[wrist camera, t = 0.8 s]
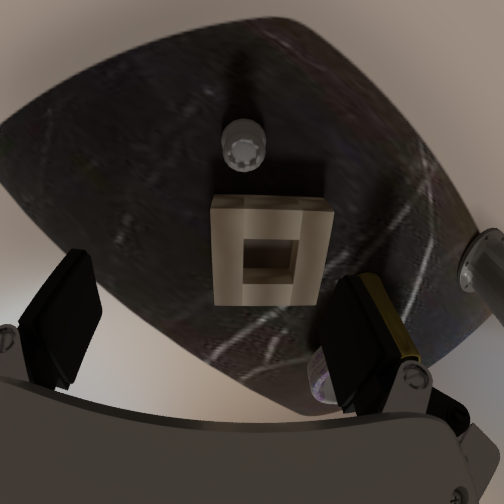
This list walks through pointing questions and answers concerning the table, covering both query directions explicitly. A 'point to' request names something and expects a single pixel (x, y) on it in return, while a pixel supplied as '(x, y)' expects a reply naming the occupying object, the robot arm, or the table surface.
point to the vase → (390, 317)
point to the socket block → (268, 249)
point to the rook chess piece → (243, 145)
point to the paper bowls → (320, 378)
